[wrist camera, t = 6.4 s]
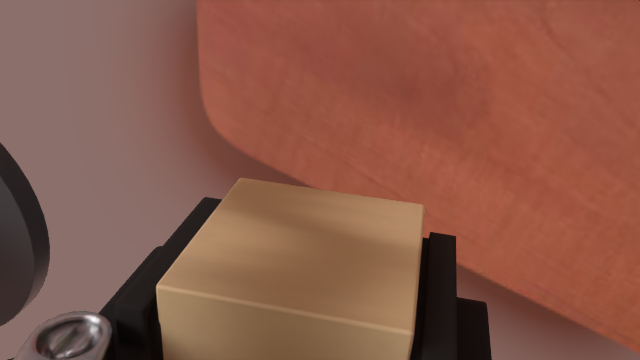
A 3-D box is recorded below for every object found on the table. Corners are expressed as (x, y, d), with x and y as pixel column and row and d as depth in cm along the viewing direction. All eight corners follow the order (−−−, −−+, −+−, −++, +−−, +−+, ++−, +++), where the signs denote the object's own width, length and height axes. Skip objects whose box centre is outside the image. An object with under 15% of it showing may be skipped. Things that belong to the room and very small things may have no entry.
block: (240, 320, 14) (169, 460, 10) (239, 176, 12) (154, 285, 9) (401, 351, 13) (384, 510, 10) (425, 203, 12) (414, 333, 8)
